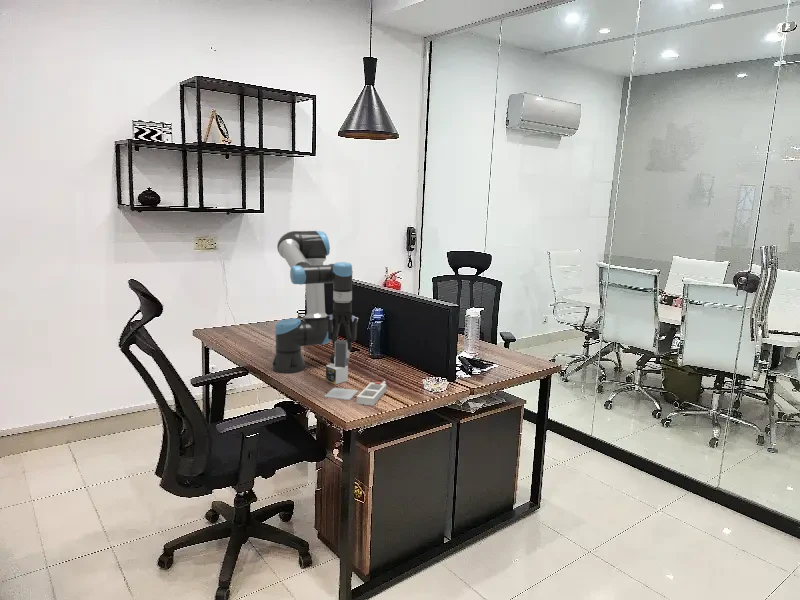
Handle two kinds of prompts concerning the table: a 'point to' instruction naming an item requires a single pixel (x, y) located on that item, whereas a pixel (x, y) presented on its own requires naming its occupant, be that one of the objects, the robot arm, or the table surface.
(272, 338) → the table surface
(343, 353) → the block
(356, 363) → the table surface
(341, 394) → the mat
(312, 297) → the robot arm
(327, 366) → the medicine bottle
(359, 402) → the power strip
